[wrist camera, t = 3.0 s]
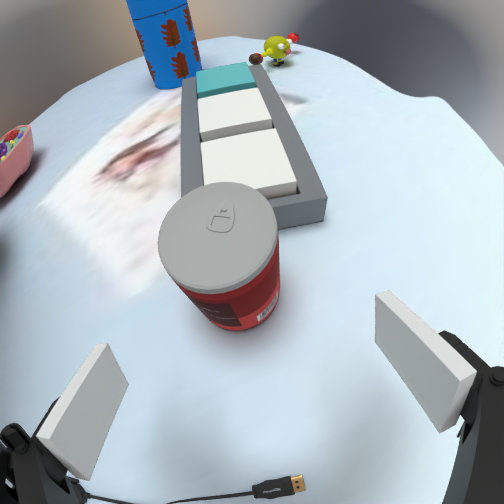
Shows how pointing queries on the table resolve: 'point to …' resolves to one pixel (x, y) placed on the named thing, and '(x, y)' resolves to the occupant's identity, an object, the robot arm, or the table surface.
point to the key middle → (232, 114)
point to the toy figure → (275, 49)
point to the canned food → (224, 253)
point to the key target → (224, 80)
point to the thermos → (166, 40)
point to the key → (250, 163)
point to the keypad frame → (308, 183)
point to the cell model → (14, 156)
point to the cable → (262, 490)
